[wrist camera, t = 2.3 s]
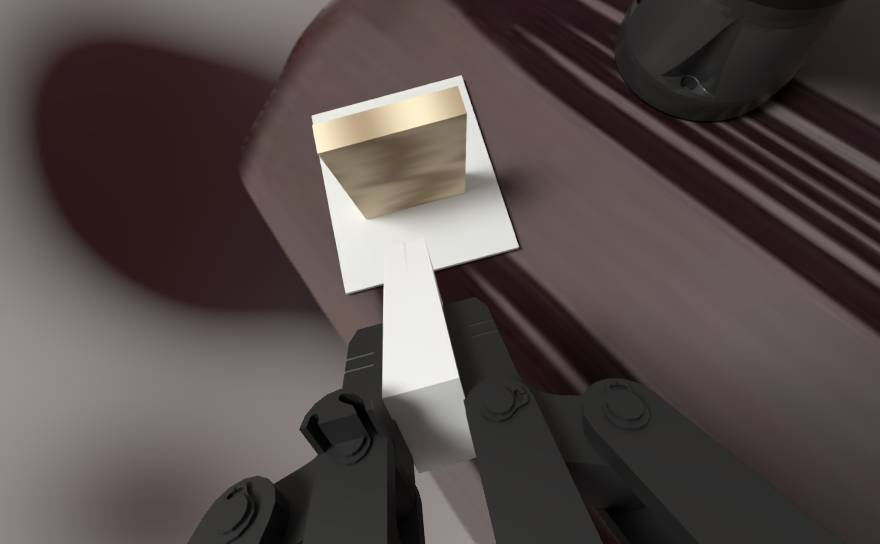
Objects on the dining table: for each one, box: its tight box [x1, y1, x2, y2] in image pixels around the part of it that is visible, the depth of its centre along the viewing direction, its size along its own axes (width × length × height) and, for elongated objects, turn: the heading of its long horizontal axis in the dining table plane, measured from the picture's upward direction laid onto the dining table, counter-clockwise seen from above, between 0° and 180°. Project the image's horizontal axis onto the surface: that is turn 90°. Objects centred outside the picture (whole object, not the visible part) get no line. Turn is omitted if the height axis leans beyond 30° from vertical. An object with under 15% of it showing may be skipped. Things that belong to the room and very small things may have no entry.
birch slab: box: [312, 86, 467, 219], centre depth 24 cm, size 9×2×10 cm, turn 105°
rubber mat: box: [312, 75, 519, 295], centre depth 30 cm, size 15×18×1 cm
